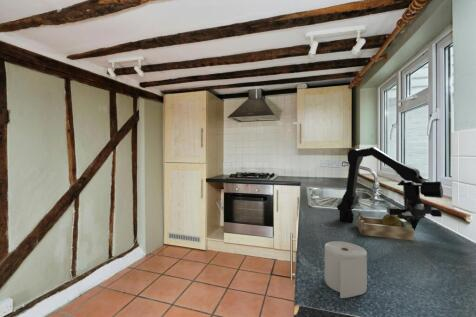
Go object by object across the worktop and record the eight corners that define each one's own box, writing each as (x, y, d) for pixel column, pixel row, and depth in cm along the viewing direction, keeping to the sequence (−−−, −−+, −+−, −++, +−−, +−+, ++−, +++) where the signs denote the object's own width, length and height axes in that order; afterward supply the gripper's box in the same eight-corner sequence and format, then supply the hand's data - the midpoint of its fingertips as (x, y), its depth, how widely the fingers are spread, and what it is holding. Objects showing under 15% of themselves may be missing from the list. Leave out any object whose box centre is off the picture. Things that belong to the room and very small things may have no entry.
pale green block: (406, 238, 95) (406, 224, 95) (398, 231, 104) (398, 218, 104) (412, 239, 94) (413, 225, 94) (405, 231, 104) (405, 219, 103)
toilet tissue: (352, 273, 67) (353, 240, 67) (379, 299, 55) (379, 259, 55) (318, 274, 67) (318, 241, 66) (337, 300, 55) (337, 260, 54)
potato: (379, 234, 99) (379, 217, 99) (383, 227, 109) (383, 211, 109) (402, 239, 94) (402, 220, 94) (404, 231, 104) (404, 214, 104)
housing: (361, 234, 100) (361, 217, 100) (357, 225, 112) (357, 210, 112) (413, 240, 93) (413, 221, 93) (403, 230, 105) (403, 214, 105)
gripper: (392, 198, 94) (394, 234, 94) (447, 199, 87) (449, 238, 87) (385, 194, 105) (387, 227, 104) (434, 194, 98) (436, 229, 98)
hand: (413, 230), depth 98 cm, fingers closed
